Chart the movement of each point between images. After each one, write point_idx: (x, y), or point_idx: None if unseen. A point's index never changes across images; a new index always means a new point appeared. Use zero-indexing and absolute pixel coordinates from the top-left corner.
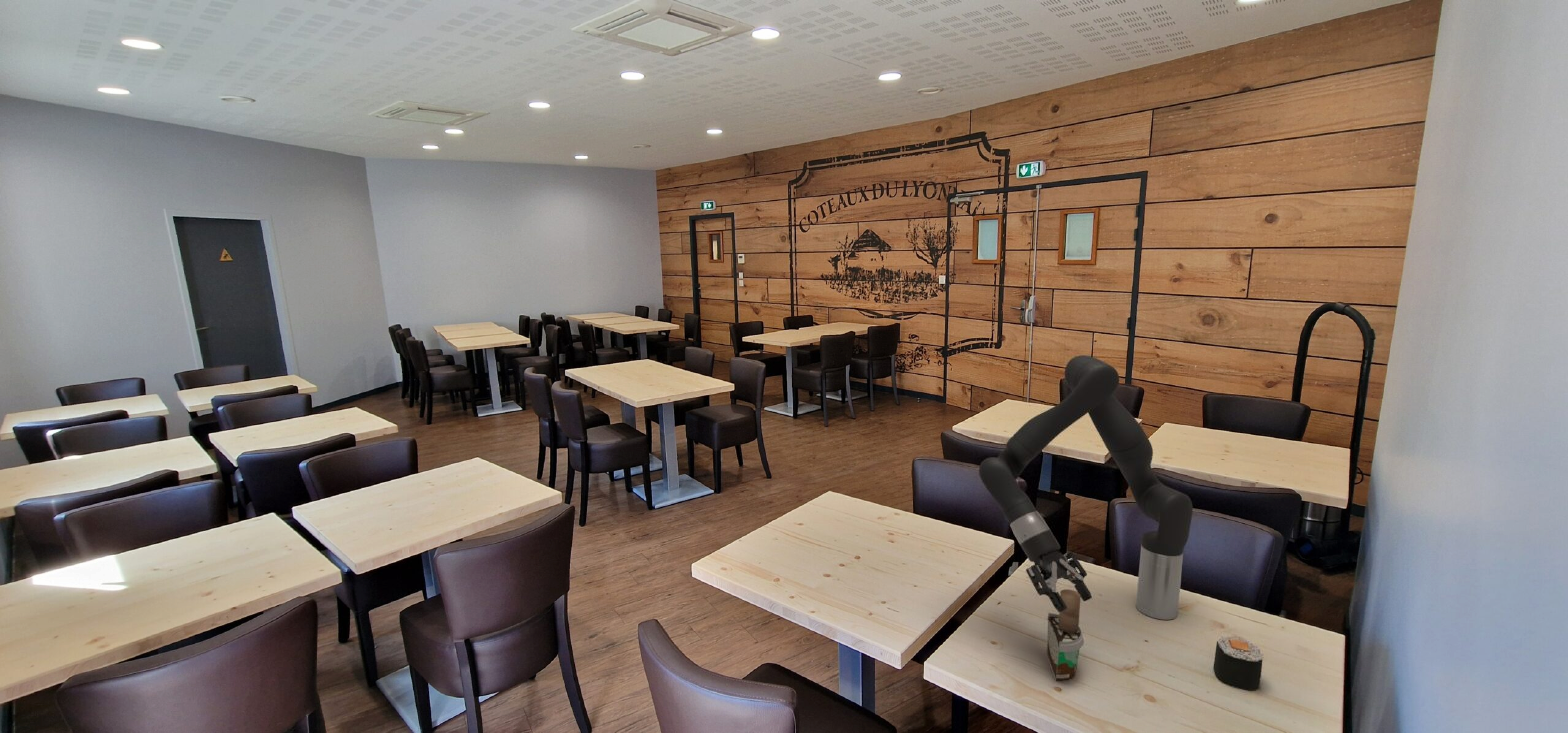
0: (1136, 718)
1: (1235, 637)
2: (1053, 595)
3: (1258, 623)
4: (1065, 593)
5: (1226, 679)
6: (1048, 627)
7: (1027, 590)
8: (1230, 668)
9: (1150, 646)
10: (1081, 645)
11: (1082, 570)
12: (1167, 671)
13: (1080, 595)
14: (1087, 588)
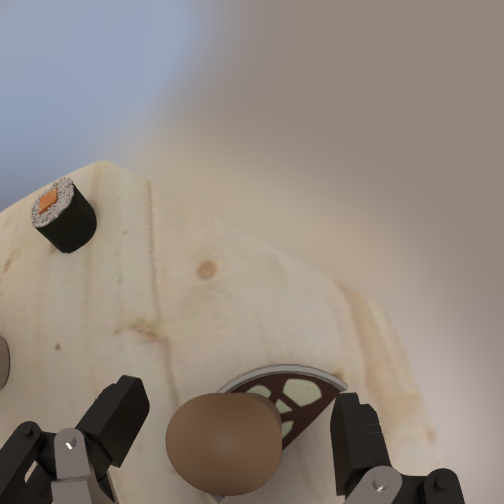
0: (280, 255)
1: (30, 216)
2: (387, 461)
3: None
4: (241, 468)
5: (92, 224)
6: None
7: None
8: (82, 209)
9: (67, 335)
10: (266, 366)
11: (19, 445)
12: (112, 288)
13: (187, 402)
14: (92, 405)
